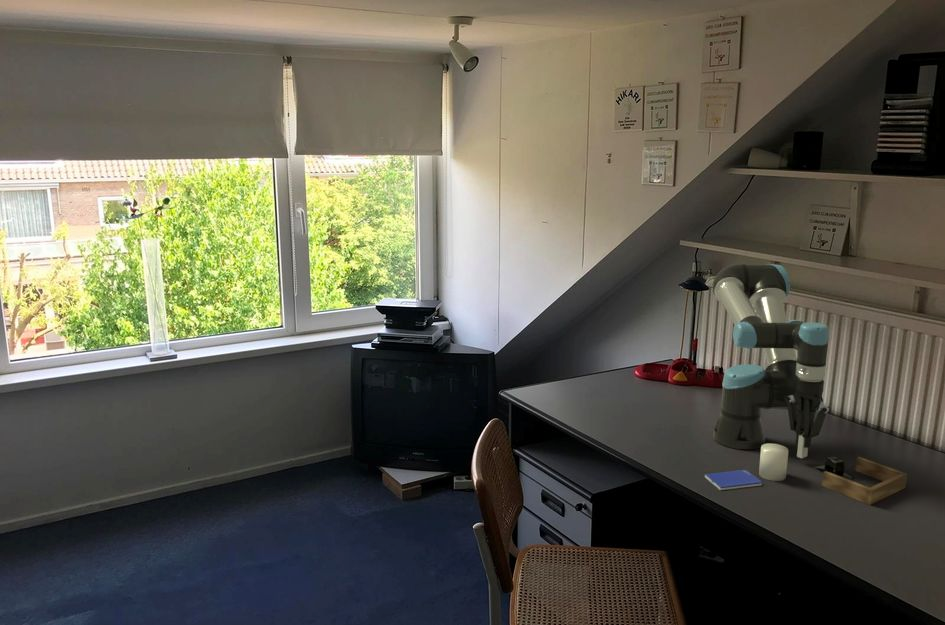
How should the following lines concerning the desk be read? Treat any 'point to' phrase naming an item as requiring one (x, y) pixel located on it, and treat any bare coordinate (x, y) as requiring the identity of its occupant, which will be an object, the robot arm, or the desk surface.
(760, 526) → the desk surface
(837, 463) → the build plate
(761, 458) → the cream cylinder
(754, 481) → the hard drive
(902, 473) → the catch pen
